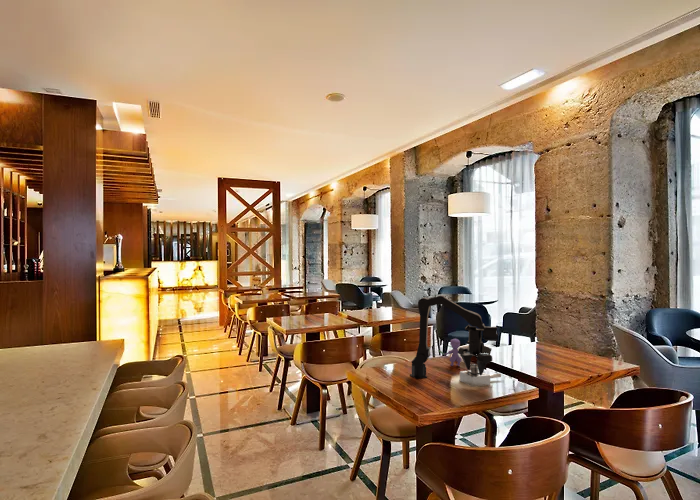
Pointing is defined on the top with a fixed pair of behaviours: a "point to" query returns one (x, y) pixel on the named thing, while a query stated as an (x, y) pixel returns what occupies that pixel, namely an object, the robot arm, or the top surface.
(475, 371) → the dark metal cylinder
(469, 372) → the grey holed paddle
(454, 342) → the toy
